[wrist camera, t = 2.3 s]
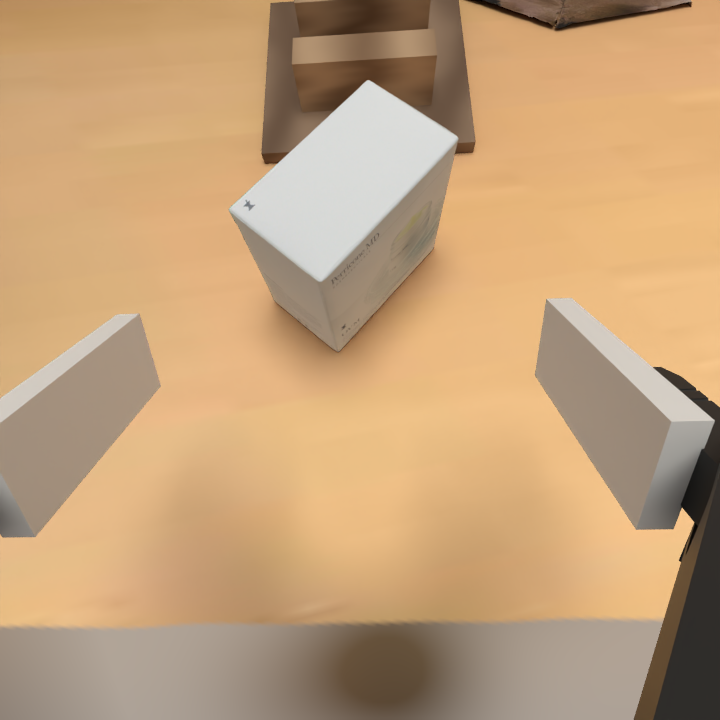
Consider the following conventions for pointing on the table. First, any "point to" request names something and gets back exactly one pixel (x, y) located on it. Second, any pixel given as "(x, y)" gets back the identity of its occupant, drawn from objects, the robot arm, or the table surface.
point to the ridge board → (304, 124)
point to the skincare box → (349, 212)
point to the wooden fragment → (581, 8)
